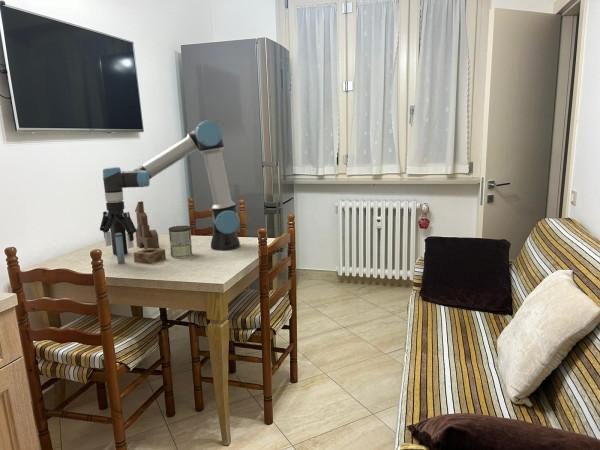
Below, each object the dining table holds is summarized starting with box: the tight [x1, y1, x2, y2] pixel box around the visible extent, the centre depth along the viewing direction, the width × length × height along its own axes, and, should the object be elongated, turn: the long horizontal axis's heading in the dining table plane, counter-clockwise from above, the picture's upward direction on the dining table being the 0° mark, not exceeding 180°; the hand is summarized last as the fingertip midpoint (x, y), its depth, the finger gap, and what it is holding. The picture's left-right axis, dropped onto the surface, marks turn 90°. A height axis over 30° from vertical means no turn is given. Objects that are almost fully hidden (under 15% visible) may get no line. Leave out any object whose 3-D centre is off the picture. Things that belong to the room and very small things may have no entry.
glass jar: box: [168, 225, 193, 259], centre depth 211 cm, size 10×10×14 cm
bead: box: [133, 248, 167, 265], centre depth 205 cm, size 10×10×4 cm
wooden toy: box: [134, 201, 160, 249], centre depth 230 cm, size 16×7×25 cm, turn 44°
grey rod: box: [115, 233, 126, 265], centre depth 201 cm, size 3×3×14 cm
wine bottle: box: [109, 219, 129, 256], centre depth 216 cm, size 6×6×30 cm
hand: (119, 246), depth 200 cm, fingers open, 13 cm apart
